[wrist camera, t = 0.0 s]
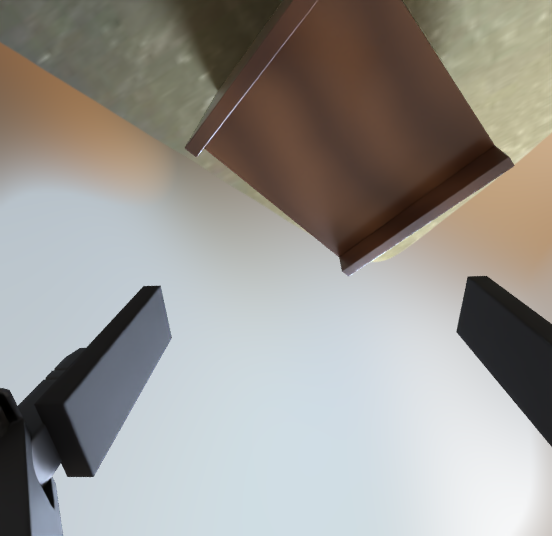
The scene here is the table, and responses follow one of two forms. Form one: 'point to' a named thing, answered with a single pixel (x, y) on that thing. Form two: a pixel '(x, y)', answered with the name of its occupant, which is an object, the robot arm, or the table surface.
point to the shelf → (349, 125)
